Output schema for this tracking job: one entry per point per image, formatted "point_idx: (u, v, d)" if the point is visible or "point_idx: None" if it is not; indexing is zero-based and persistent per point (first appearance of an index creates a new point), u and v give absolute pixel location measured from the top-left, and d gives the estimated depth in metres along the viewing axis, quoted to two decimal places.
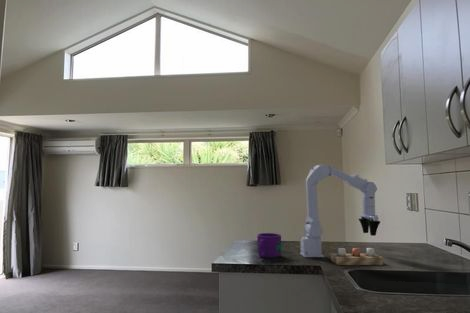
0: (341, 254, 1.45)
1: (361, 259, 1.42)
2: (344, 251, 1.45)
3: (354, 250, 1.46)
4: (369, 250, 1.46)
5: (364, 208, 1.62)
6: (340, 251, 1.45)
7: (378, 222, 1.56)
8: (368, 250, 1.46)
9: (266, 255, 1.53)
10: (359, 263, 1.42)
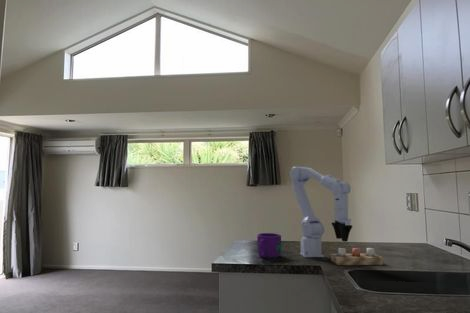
0: (341, 254, 1.45)
1: (361, 259, 1.42)
2: (344, 251, 1.45)
3: (354, 250, 1.46)
4: (369, 250, 1.46)
5: (336, 211, 1.46)
6: (340, 251, 1.45)
7: (350, 226, 1.42)
8: (368, 250, 1.46)
9: (266, 255, 1.53)
10: (359, 263, 1.42)
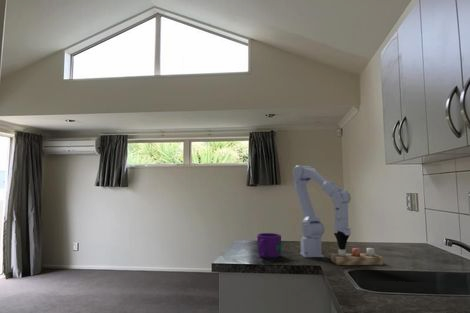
0: (341, 255, 1.45)
1: (361, 259, 1.42)
2: (344, 252, 1.45)
3: (354, 250, 1.46)
4: (369, 250, 1.46)
5: (336, 221, 1.46)
6: (340, 252, 1.45)
7: (347, 235, 1.44)
8: (368, 250, 1.46)
9: (266, 255, 1.53)
10: (359, 263, 1.42)
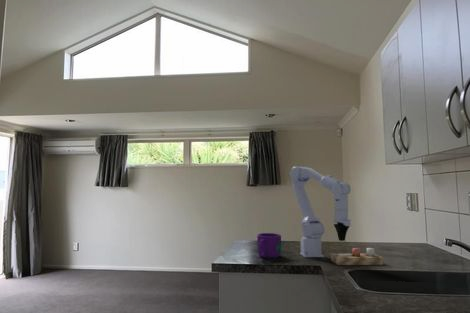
0: None
1: (361, 259, 1.42)
2: None
3: (354, 250, 1.46)
4: (369, 250, 1.46)
5: (336, 212, 1.46)
6: None
7: (347, 226, 1.45)
8: (368, 250, 1.46)
9: (266, 255, 1.53)
10: (359, 263, 1.42)
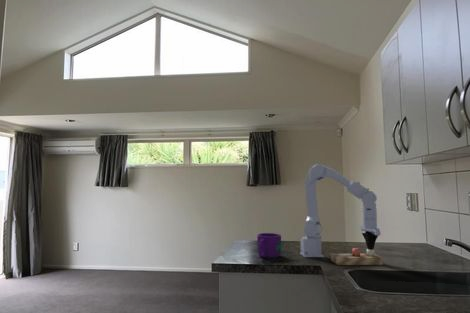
0: None
1: (361, 259, 1.42)
2: None
3: (354, 250, 1.46)
4: (369, 251, 1.46)
5: (365, 221, 1.47)
6: None
7: (376, 235, 1.45)
8: (368, 251, 1.46)
9: (266, 255, 1.53)
10: (359, 263, 1.42)
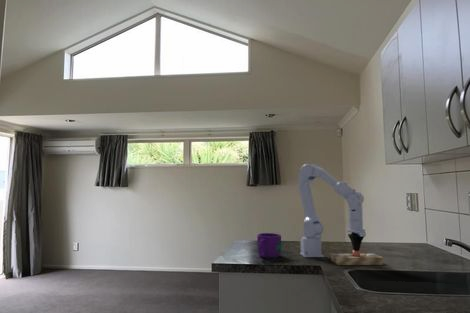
0: None
1: (361, 259, 1.42)
2: None
3: (354, 252, 1.45)
4: (369, 256, 1.46)
5: (350, 222, 1.46)
6: None
7: (362, 236, 1.45)
8: (368, 256, 1.46)
9: (266, 255, 1.53)
10: (359, 263, 1.42)
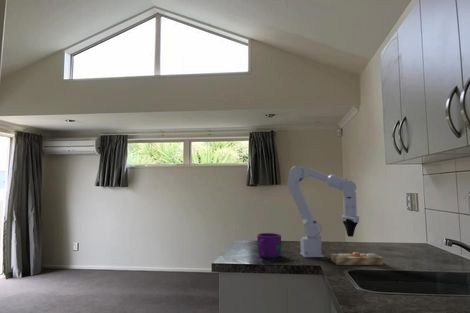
0: None
1: (361, 259, 1.42)
2: None
3: (354, 254, 1.45)
4: (369, 256, 1.46)
5: (345, 209, 1.53)
6: None
7: (355, 223, 1.51)
8: (368, 256, 1.46)
9: (266, 255, 1.53)
10: (359, 263, 1.42)
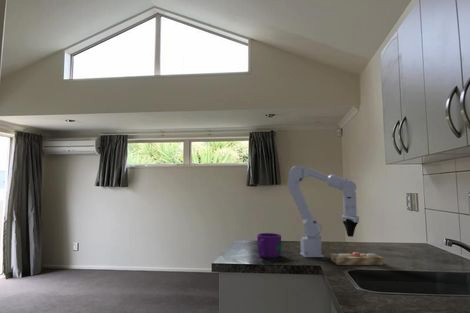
0: None
1: (361, 259, 1.42)
2: None
3: (354, 254, 1.45)
4: (369, 256, 1.46)
5: (345, 209, 1.53)
6: None
7: (355, 223, 1.51)
8: (368, 256, 1.46)
9: (266, 255, 1.53)
10: (359, 263, 1.42)
